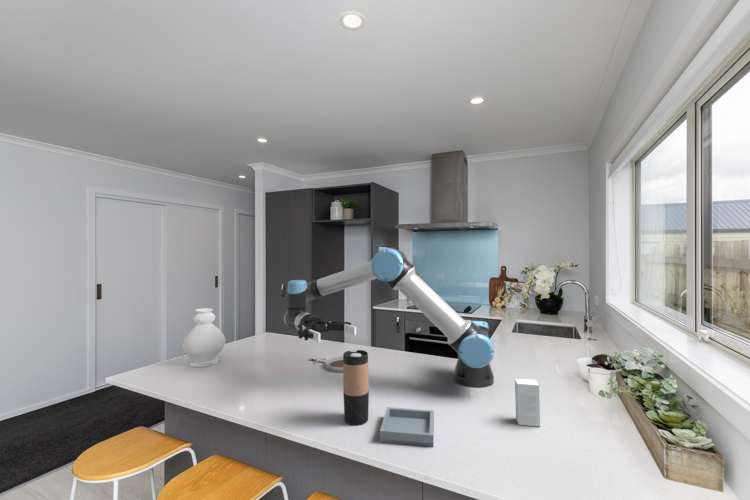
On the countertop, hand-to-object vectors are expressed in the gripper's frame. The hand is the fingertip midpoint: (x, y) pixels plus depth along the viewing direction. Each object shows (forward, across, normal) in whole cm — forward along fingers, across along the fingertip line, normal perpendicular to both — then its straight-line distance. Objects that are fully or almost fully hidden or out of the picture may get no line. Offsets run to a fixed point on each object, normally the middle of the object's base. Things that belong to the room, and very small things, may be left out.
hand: (338, 334), depth 110 cm
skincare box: (+43, -38, -24) cm, 62 cm away
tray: (+24, -8, -24) cm, 35 cm away
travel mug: (+10, 0, -24) cm, 26 cm away
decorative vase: (-80, +24, -25) cm, 87 cm away
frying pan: (-38, -21, -25) cm, 50 cm away
